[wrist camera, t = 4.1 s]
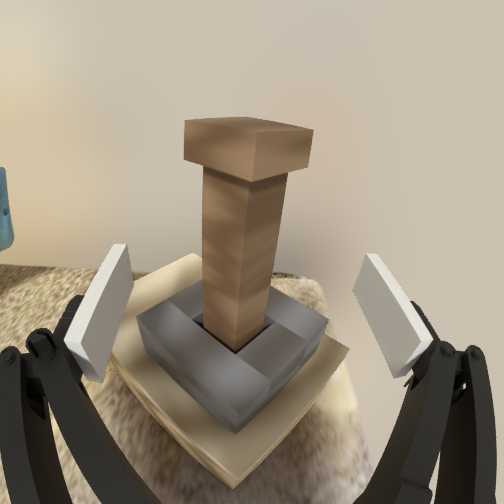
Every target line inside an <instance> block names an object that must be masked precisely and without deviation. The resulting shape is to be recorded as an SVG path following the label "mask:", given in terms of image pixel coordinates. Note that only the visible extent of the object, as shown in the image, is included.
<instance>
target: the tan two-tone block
mask: <svg viewBox="0 0 504 504" xmlns="http://www.w3.org/2000/svg"><path fill="white" fill-rule="evenodd" d="M328 321H329V319H327V318H325V317H324V316H322V315H320V314H318V313H317V312H315V311H313V310H311V309H310V308H308V307H306V306H304V305H303V304H301V303H299V302H297V301H296V300H294V299H292V298H290V297H289V296H287V295H285V294H284V293H282V292H280V291H278V290H277V289H275V288H273V287H272V286H270V289H269V295H268V300H267V306H266V312H265V317H264V323H263V328H262V333H261V334H260V335H259V336H258V337H256V338H255V339H254V340H253V341H252V342H250V343H249V344H248V345H247V346H246V347H244V348H243V349H242V350H241V351H239V352H238V353H237V354H236V355H235V354H234V353H233V352H231V351H230V350H229V349H227V348H226V347H225V346H223V345H222V344H221V343H220V342H218V341H217V340H216V339H215V338H213V337H212V336H211V335H210V334H208V333H207V332H206V331H205V330H204V322H203V288H202V258H200V257H199V256H197V255H196V254H194V253H191V254H189V255H187V256H185V257H183V258H181V259H179V260H177V261H175V262H173V263H171V264H168V265H166V266H164V267H162V268H160V269H158V270H156V271H154V272H152V273H150V274H148V275H146V276H144V277H142V278H140V279H138V280H136V281H134V287H133V289H132V292H131V295H130V298H129V300H128V303H127V306H126V309H125V312H124V314H123V317H122V320H121V323H120V326H119V329H118V332H117V335H116V339H115V342H114V345H113V348H112V352H111V355H110V358H109V361H110V363H111V365H112V367H113V368H114V370H115V371H116V372H117V374H118V375H119V376H120V378H121V379H122V380H123V382H124V383H125V384H126V385H127V387H128V388H129V389H130V390H131V392H132V393H133V394H134V395H135V396H136V398H137V399H138V400H139V401H140V402H141V404H142V405H143V406H144V407H145V408H146V409H147V410H148V412H149V413H150V414H151V415H152V416H153V417H154V418H155V419H156V420H157V422H158V423H159V424H160V425H161V426H162V427H163V428H164V429H165V430H166V431H167V432H168V433H169V434H170V435H171V436H172V437H173V438H174V439H175V440H176V441H177V442H178V443H179V444H180V445H181V446H182V447H183V448H184V449H185V450H186V451H187V452H188V453H189V454H190V455H192V456H193V457H194V458H195V459H196V460H197V461H198V462H199V463H200V464H202V465H203V466H204V467H205V468H206V469H207V470H209V471H210V472H211V473H212V474H213V475H214V476H216V477H217V478H218V479H219V480H221V481H222V482H223V483H224V484H226V485H227V486H228V487H230V488H231V489H232V490H233V489H234V488H235V487H236V486H238V485H239V484H240V483H241V482H242V481H243V480H244V479H245V478H246V477H247V476H248V475H249V474H250V473H251V472H253V471H254V470H255V469H256V468H257V467H258V466H259V465H260V464H261V463H262V462H263V461H264V460H265V459H266V458H267V457H268V455H269V454H270V453H271V452H272V451H273V450H274V449H275V448H276V447H277V446H278V445H279V444H280V443H281V442H282V441H283V439H284V438H285V437H286V436H287V435H288V434H289V433H290V432H291V430H292V429H293V428H294V427H295V426H296V425H297V424H298V422H299V421H300V420H301V419H302V418H303V416H304V415H305V414H306V413H307V412H308V410H309V409H310V408H311V407H312V405H313V404H314V403H315V402H316V400H317V398H318V397H319V395H320V394H321V392H322V390H323V389H324V387H325V385H326V383H327V382H328V380H329V379H330V377H331V376H332V375H333V373H334V372H335V371H336V369H337V368H338V366H339V365H340V364H341V362H342V361H343V359H344V358H345V357H346V355H347V353H348V351H349V348H348V347H346V346H344V345H342V344H341V343H339V342H337V341H336V340H334V339H332V338H330V337H329V336H327V335H325V334H324V331H325V328H326V326H327V323H328Z"/></svg>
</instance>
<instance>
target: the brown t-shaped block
mask: <svg viewBox="0 0 504 504" xmlns="http://www.w3.org/2000/svg"><path fill="white" fill-rule="evenodd" d="M312 137H313V130H312V129H307V128H303V127H298V126H294V125H289V124H284V123H278V122H274V121H268V120H262V119H257V118H250V117H228V118H227V117H226V118H207V119H193V120H185V130H184V160H187V161H190V162H193V163H196V164H200V165H203V198H202V288H203V322H204V330H205V331H206V332H207V333H208V334H210V335H211V336H212V337H213V338H215V339H216V340H217V341H218V342H220V343H221V344H222V345H223V346H225V347H226V348H227V349H229V350H230V351H231V352H233V353H234V354H235V355H236V354H237V353H238V352H239V351H241V350H242V349H243V348H244V347H246V346H247V345H248V344H249V343H250V342H252V341H253V340H254V339H255V338H256V337H258V336H259V335H260V334H261V333H262V328H263V323H264V317H265V312H266V306H267V300H268V295H269V289H270V283H271V277H272V271H273V265H274V259H275V253H276V247H277V240H278V235H279V228H280V222H281V215H282V209H283V202H284V196H285V189H286V182H287V176H288V172H291V171H295V170H299V169H303V168H307V167H308V162H309V156H310V150H311V144H312Z"/></svg>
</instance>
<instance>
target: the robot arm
mask: <svg viewBox="0 0 504 504" xmlns="http://www.w3.org/2000/svg"><path fill="white" fill-rule="evenodd" d="M13 241H14V233H13V227H12V222H11V215H10V209H9V201H8V193H7V182H6V170H5V168H3V167H0V252H1V251H3V250H5V249H7V248H9V247H10V246H11V245H12V243H13ZM133 287H134V281H133V276H132V271H131V266H130V260H129V254H128V248H127V244H113V246H112V248H111V250H110V251H109V253H108V255H107V256H106V258H105V260H104V261H103V263H102V265H101V267H100V268H99V270H98V272H97V274H96V275H95V277H94V279H93V281H92V283H91V285H90V287H89V288H88V290H87V292H86V294H85V296H83V295H76V296H75V297H74V298H73V299H72V300H71V301H69V303H68V305H67V307H66V309H65V312H64V313H63V315H62V318H60V320H59V322H58V324H57V326H56V329H55V331H54V333H53V334H52V333H51V331H50V330H48V329H47V328H39V329H36V330H34V331H33V332H31V333H30V335H29V336H28V337H27V340H26V348H27V349H28V351H29V352H30V353H24V354H21V353H20V351H19V350H18V348H16V347H14V346H9V347H7V348H5V349H4V350H3V351H2V352H1V353H0V452H1V459H2V465H3V470H4V475H5V480H6V485H7V489H8V493H9V497H10V501H11V504H73V503H72V500H71V498H70V495H69V492H68V489H67V486H66V483H65V479H64V476H63V473H62V469H61V465H60V462H59V458H58V454H57V450H56V445H55V441H54V436H53V431H52V425H51V419H50V413H49V406H48V402H49V405H50V407H51V410H52V412H53V415H54V417H55V420H56V422H57V424H58V426H59V429H60V431H61V433H62V435H63V437H64V440H65V442H66V444H67V446H68V448H69V450H70V452H71V454H72V456H73V457H74V459H75V461H76V463H77V465H78V467H79V468H80V470H81V472H82V474H83V475H84V477H85V479H86V480H87V482H88V484H89V485H90V487H91V488H92V490H93V491H94V493H95V495H96V496H97V498H98V499H99V500H100V502H101V503H102V504H162V503H161V502H160V501H159V500H158V498H157V497H156V496H155V495H154V494H153V492H152V491H151V490H150V489H149V488H148V486H147V485H146V484H145V483H144V481H143V480H142V479H141V477H140V476H139V475H138V474H137V472H136V471H135V470H134V468H133V467H132V465H131V464H130V463H129V461H128V460H127V458H126V457H125V456H124V454H123V453H122V451H121V450H120V448H119V447H118V445H117V444H116V442H115V440H114V439H113V437H112V436H111V434H110V432H109V431H108V429H107V428H106V426H105V424H104V422H103V421H102V419H101V417H100V415H99V414H98V412H97V410H96V408H95V406H94V405H93V403H92V401H91V399H90V397H89V395H88V393H87V391H86V389H85V387H84V385H83V383H82V382H81V377H82V374H84V375H85V377H86V379H87V380H90V381H95V382H100V383H103V379H104V376H105V372H106V369H107V365H108V362H109V358H110V355H111V352H112V348H113V345H114V342H115V339H116V335H117V332H118V329H119V326H120V323H121V320H122V317H123V314H124V312H125V309H126V306H127V303H128V300H129V298H130V295H131V292H132V289H133ZM353 293H354V294H355V296H356V298H357V300H358V302H359V304H360V306H361V308H362V310H363V312H364V314H365V316H366V318H367V321H368V323H369V325H370V327H371V329H372V331H373V333H374V335H375V337H376V340H377V342H378V344H379V346H380V348H381V351H382V353H383V355H384V357H385V360H386V362H387V364H388V366H389V369H390V371H391V373H392V376H393V378H398V377H402V376H406V374H407V373H408V372H409V371H410V370H411V368H412V370H413V372H414V374H413V375H412V376H411V378H410V379H409V380H408V381H407V382H406V383H405V385H404V387H406V386H407V385H408V384H409V386H408V389H407V392H406V395H405V398H404V401H403V404H402V407H401V410H400V413H399V416H398V418H397V421H396V424H395V426H394V429H393V431H392V434H391V436H390V439H389V441H388V444H387V446H386V448H385V451H384V453H383V455H382V457H381V460H380V462H379V464H378V466H377V468H376V470H375V472H374V474H373V476H372V478H371V480H370V482H369V483H368V485H367V487H366V489H365V491H364V492H363V493H362V494H361V495H360V496H359V497H358V498H357V499H356V500H355V501H354V503H353V504H430V502H431V499H432V495H433V494H432V491H431V490H430V489H429V483H430V480H431V477H432V474H433V471H434V468H435V465H436V462H437V459H438V455H439V452H440V462H439V472H438V480H437V487H436V494H435V500H434V504H496V498H495V489H496V469H497V468H496V467H497V449H496V429H495V416H494V408H493V399H492V393H491V386H490V380H489V375H488V370H487V365H486V360H485V356H484V354H483V352H482V350H481V349H480V348H479V347H477V346H475V345H470V346H468V348H467V349H466V350H465V352H463V351H456V350H455V348H454V347H453V346H452V345H451V344H450V343H448V342H446V341H441V340H440V339H439V337H438V335H437V334H436V332H435V330H434V329H433V327H432V326H431V324H430V323H429V321H428V319H427V318H426V316H424V313H423V311H422V310H421V308H420V307H419V306H418V305H416V303H414V302H413V301H409V299H408V298H407V296H406V295H405V293H404V292H403V290H402V289H401V287H400V286H399V284H398V283H397V281H396V280H395V279H394V277H393V276H392V274H391V273H390V271H389V270H388V269H387V267H386V266H385V264H384V263H383V262H382V260H381V259H380V257H379V256H378V255H377V254H366V255H365V258H364V261H363V264H362V266H361V269H360V272H359V275H358V277H357V280H356V283H355V285H354V288H353ZM465 383H466V388H465V389H463V384H465ZM440 448H441V449H440Z"/></svg>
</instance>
